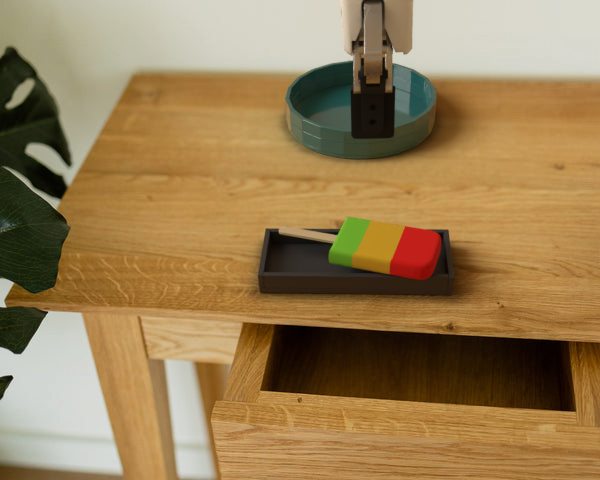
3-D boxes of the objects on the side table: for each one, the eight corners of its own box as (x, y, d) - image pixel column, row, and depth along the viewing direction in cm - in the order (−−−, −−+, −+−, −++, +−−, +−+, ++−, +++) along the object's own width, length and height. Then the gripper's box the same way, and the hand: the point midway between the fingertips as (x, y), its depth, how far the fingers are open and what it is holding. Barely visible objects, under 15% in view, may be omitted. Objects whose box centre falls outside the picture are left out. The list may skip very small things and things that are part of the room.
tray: (446, 246, 73) (448, 229, 72) (452, 295, 68) (454, 277, 67) (267, 245, 75) (265, 228, 73) (259, 292, 69) (257, 275, 68)
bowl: (432, 86, 97) (434, 60, 95) (436, 160, 84) (438, 132, 82) (295, 85, 99) (294, 59, 97) (279, 157, 86) (277, 130, 84)
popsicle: (430, 284, 66) (432, 268, 65) (269, 254, 70) (268, 238, 69) (443, 246, 70) (445, 230, 69) (289, 220, 74) (288, 204, 73)
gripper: (440, -98, 43) (425, 163, 54) (424, -170, 55) (415, 55, 67) (307, -91, 43) (320, 165, 55) (321, -164, 56) (329, 57, 67)
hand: (372, 104), depth 61 cm, fingers open, 9 cm apart
